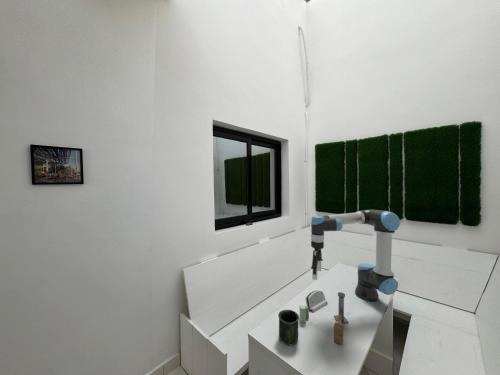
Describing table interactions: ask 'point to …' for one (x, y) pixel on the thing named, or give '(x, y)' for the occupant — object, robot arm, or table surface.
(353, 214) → the robot arm
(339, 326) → the wooden mallet
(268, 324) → the table surface
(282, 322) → the dark green cylindrical container
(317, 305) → the grey arched slab
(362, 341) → the table surface
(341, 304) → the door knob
